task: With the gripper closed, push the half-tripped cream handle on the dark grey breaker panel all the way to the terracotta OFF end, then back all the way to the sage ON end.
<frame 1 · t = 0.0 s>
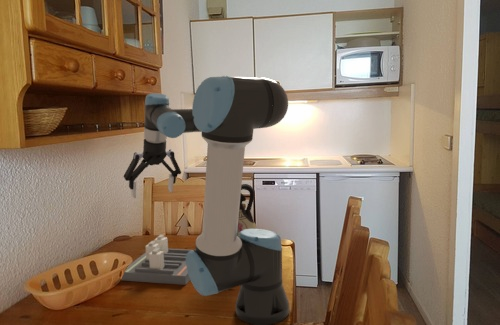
hand: (152, 193, 134), 28 cm above the table, tool tilted 20°, fingers open, 13 cm apart
tripped breaker handle: (156, 259, 127), point 7 cm above the table, slide at 5.0 cm
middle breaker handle: (152, 251, 135), point 7 cm above the table, slide at 10.0 cm
far breaker handle: (161, 244, 142), point 7 cm above the table, slide at 10.0 cm
breaker panel: (166, 269, 135), on the table
ceramic jug: (242, 260, 141), on the table
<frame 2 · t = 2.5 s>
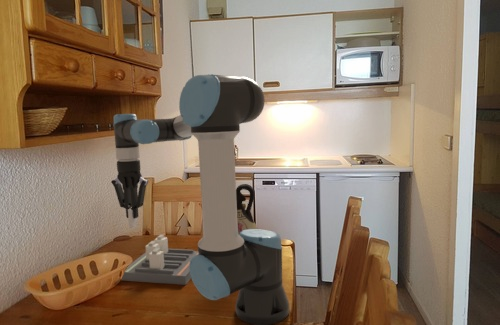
hand: (133, 226, 128), 18 cm above the table, tool pointing down, fingers closed
nothing on the table moved.
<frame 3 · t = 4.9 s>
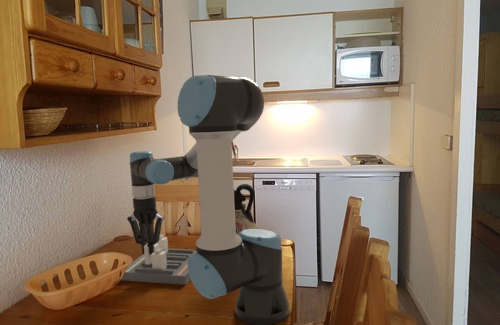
hand: (149, 262, 128), 5 cm above the table, tool pointing down, fingers closed
tripped breaker handle: (159, 259, 127), point 7 cm above the table, slide at 4.0 cm, touching gripper
everything else where it was.
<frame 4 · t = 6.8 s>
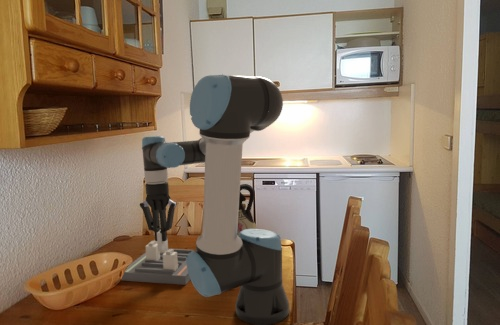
hand: (161, 249, 126), 10 cm above the table, tool pointing down, fingers closed
tripped breaker handle: (170, 260, 126), point 7 cm above the table, slide at -0.1 cm
everything else where it was.
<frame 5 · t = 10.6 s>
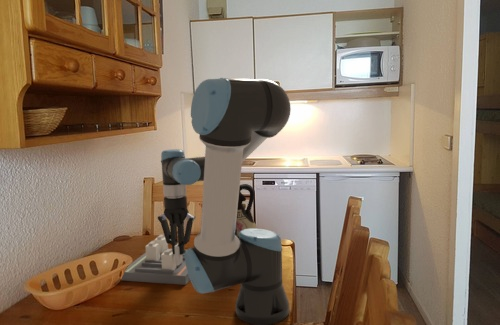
hand: (179, 262, 126), 6 cm above the table, tool pointing down, fingers closed
tripped breaker handle: (168, 259, 126), point 7 cm above the table, slide at 0.5 cm, touching gripper
everything else where it was.
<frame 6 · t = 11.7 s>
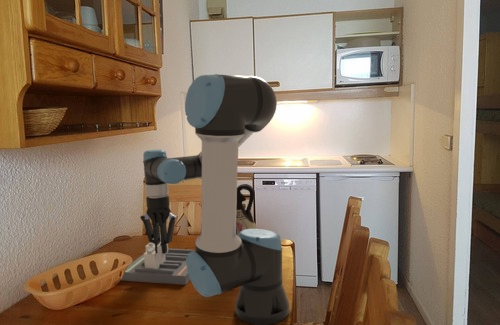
hand: (161, 262, 127), 6 cm above the table, tool pointing down, fingers closed
tripped breaker handle: (151, 258, 128), point 7 cm above the table, slide at 6.9 cm, touching gripper
everything else where it was.
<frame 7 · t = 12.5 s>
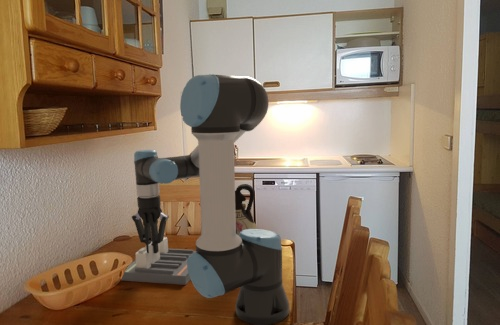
hand: (153, 261, 128), 6 cm above the table, tool pointing down, fingers closed
tripped breaker handle: (143, 258, 128), point 7 cm above the table, slide at 10.1 cm, touching gripper
everything else where it was.
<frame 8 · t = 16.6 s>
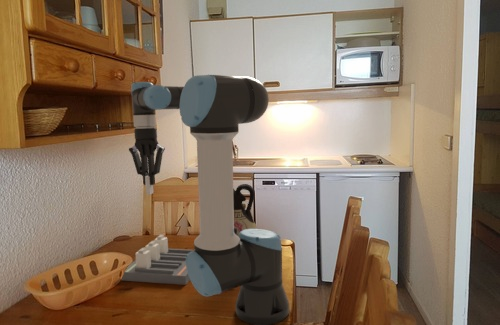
hand: (149, 193, 131), 28 cm above the table, tool pointing down, fingers closed
tripped breaker handle: (143, 258, 128), point 7 cm above the table, slide at 10.1 cm
everything else where it was.
at the end: tripped breaker handle slide at 10.1 cm; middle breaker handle slide at 10.0 cm; far breaker handle slide at 10.0 cm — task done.
